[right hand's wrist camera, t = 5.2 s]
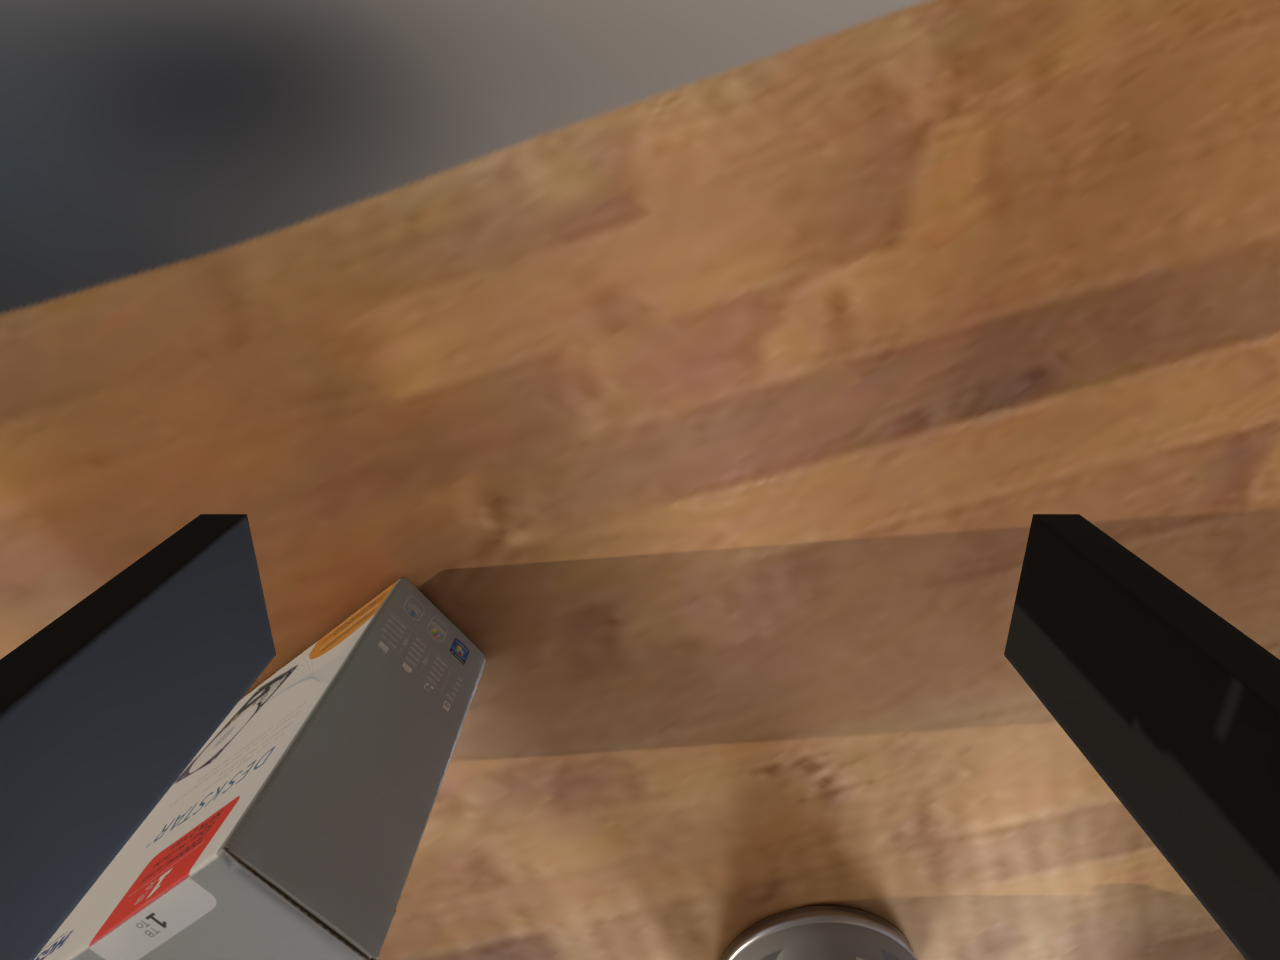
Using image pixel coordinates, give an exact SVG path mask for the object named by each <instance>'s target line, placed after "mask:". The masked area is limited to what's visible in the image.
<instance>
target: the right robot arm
mask: <svg viewBox="0 0 1280 960" xmlns="http://www.w3.org/2000/svg"><path fill="white" fill-rule="evenodd" d="M275 655H276V653H275V648H274V643H273V639H272V634H271V629H270V624H269V619H268V614H267V610H266V605H265V600H264V595H263V590H262V585H261V581H260V576H259V571H258V566H257V561H256V556H255V552H254V547H253V542H252V537H251V532H250V527H249V523H248V518H247V514H201V515H199V516H198V517H197V518H195V519H194V520H193V521H191V522H190V523H188V524H187V525H186V526H184V527H183V528H182V529H180V530H179V531H177V532H176V533H175V534H173V535H172V536H170V537H169V538H168V539H166V540H165V541H164V542H162V543H161V544H159V545H158V546H157V547H155V548H154V549H153V550H151V551H150V552H148V553H147V554H146V555H144V556H143V557H142V558H140V559H139V560H137V561H136V562H135V563H133V564H132V565H130V566H129V567H128V568H126V569H125V570H124V571H122V572H121V573H119V574H118V575H117V576H115V577H114V578H113V579H111V580H110V581H108V582H107V583H106V584H104V585H103V586H102V587H100V588H99V589H97V590H96V591H95V592H93V593H92V594H90V595H89V596H88V597H86V598H85V599H84V600H82V601H81V602H79V603H78V604H77V605H75V606H74V607H73V608H71V609H70V610H68V611H67V612H66V613H64V614H63V615H62V616H60V617H59V618H57V619H56V620H55V621H53V622H52V623H51V624H49V625H48V626H46V627H45V628H44V629H42V630H41V631H39V632H38V633H37V634H35V635H34V636H33V637H31V638H30V639H28V640H27V641H26V642H24V643H23V644H22V645H20V646H19V647H17V648H16V649H15V650H13V651H12V652H11V653H9V654H8V655H6V656H5V657H4V658H2V659H1V660H0V960H34V959H35V958H36V956H37V955H38V954H39V952H40V951H41V950H42V949H43V947H44V946H45V945H46V944H47V942H48V941H49V940H50V939H51V937H52V936H53V935H54V934H55V932H56V931H57V930H58V929H59V927H60V926H61V925H62V924H63V922H64V921H65V920H66V918H67V917H68V916H69V915H70V913H71V912H72V911H73V910H74V908H75V907H76V906H77V905H78V903H79V902H80V901H81V900H82V898H83V897H84V896H85V895H86V893H87V892H88V891H89V890H90V888H91V887H92V886H93V884H94V883H95V882H96V881H97V879H98V878H99V877H100V876H101V874H102V873H103V872H104V871H105V869H106V868H107V867H108V866H109V864H110V863H111V862H112V861H113V859H114V858H115V857H116V855H117V854H118V853H119V852H120V850H121V849H122V848H123V847H124V845H125V844H126V843H127V842H128V840H129V839H130V838H131V837H132V835H133V834H134V833H135V832H136V830H137V829H138V828H139V827H140V825H141V824H142V823H143V821H144V820H145V819H146V818H147V816H148V815H149V814H150V813H151V811H152V810H153V809H154V808H155V806H156V805H157V804H158V803H159V801H160V800H161V799H162V798H163V796H164V795H165V794H166V792H167V791H168V790H169V789H170V787H171V786H172V785H173V784H174V782H175V781H176V780H177V779H178V777H179V776H180V775H181V774H182V772H183V771H184V770H185V769H186V767H187V766H188V765H189V764H190V762H191V761H192V760H193V758H194V757H195V756H196V755H197V753H198V752H199V751H200V750H201V748H202V747H203V746H204V745H205V743H206V742H207V741H208V740H209V738H210V737H211V736H212V735H213V733H214V732H215V731H216V730H217V728H218V727H219V726H220V724H221V723H222V722H223V721H224V719H225V718H226V717H227V716H228V714H229V713H230V712H231V711H232V709H233V708H234V707H235V706H236V704H237V703H238V702H239V701H240V699H241V698H242V697H243V695H244V694H245V693H246V692H247V690H248V689H249V688H250V687H251V685H252V684H253V683H254V682H255V680H256V679H257V678H258V677H259V675H260V674H261V673H262V672H263V670H264V669H265V668H266V667H267V665H268V664H269V663H270V661H271V660H272V659H273V658H274V656H275ZM1004 655H1005V656H1006V658H1007V659H1008V660H1009V661H1010V663H1011V664H1012V665H1013V667H1014V668H1015V669H1016V670H1017V672H1018V673H1019V674H1020V675H1021V677H1022V678H1023V679H1024V680H1025V682H1026V683H1027V684H1028V685H1029V687H1030V688H1031V689H1032V690H1033V692H1034V693H1035V694H1036V695H1037V697H1038V698H1039V699H1040V701H1041V702H1042V703H1043V704H1044V706H1045V707H1046V708H1047V709H1048V711H1049V712H1050V713H1051V714H1052V716H1053V717H1054V718H1055V719H1056V721H1057V722H1058V723H1059V724H1060V726H1061V727H1062V728H1063V730H1064V731H1065V732H1066V733H1067V735H1068V736H1069V737H1070V738H1071V740H1072V741H1073V742H1074V743H1075V745H1076V746H1077V747H1078V748H1079V750H1080V751H1081V752H1082V753H1083V755H1084V756H1085V757H1086V758H1087V760H1088V761H1089V762H1090V764H1091V765H1092V766H1093V767H1094V769H1095V770H1096V771H1097V772H1098V774H1099V775H1100V776H1101V777H1102V779H1103V780H1104V781H1105V782H1106V784H1107V785H1108V786H1109V787H1110V789H1111V790H1112V791H1113V792H1114V794H1115V795H1116V796H1117V798H1118V799H1119V800H1120V801H1121V803H1122V804H1123V805H1124V806H1125V808H1126V809H1127V810H1128V811H1129V813H1130V814H1131V815H1132V816H1133V818H1134V819H1135V820H1136V821H1137V823H1138V824H1139V825H1140V827H1141V828H1142V829H1143V830H1144V832H1145V833H1146V834H1147V835H1148V837H1149V838H1150V839H1151V840H1152V842H1153V843H1154V844H1155V845H1156V847H1157V848H1158V849H1159V850H1160V852H1161V853H1162V854H1163V855H1164V857H1165V858H1166V859H1167V861H1168V862H1169V863H1170V864H1171V866H1172V867H1173V868H1174V869H1175V871H1176V872H1177V873H1178V874H1179V876H1180V877H1181V878H1182V879H1183V881H1184V882H1185V883H1186V884H1187V886H1188V887H1189V888H1190V890H1191V891H1192V892H1193V893H1194V895H1195V896H1196V897H1197V898H1198V900H1199V901H1200V902H1201V903H1202V905H1203V906H1204V907H1205V908H1206V910H1207V911H1208V912H1209V913H1210V915H1211V916H1212V917H1213V918H1214V920H1215V921H1216V922H1217V924H1218V925H1219V926H1220V927H1221V929H1222V930H1223V931H1224V932H1225V934H1226V935H1227V936H1228V937H1229V939H1230V940H1231V941H1232V942H1233V944H1234V945H1235V946H1236V947H1237V949H1238V950H1239V951H1240V952H1241V954H1242V955H1243V956H1244V958H1245V959H1246V960H1280V660H1279V659H1278V658H1276V657H1275V656H1274V655H1272V654H1271V653H1269V652H1268V651H1267V650H1265V649H1264V648H1263V647H1261V646H1260V645H1258V644H1257V643H1256V642H1254V641H1253V640H1252V639H1250V638H1249V637H1247V636H1246V635H1245V634H1243V633H1242V632H1241V631H1239V630H1238V629H1236V628H1235V627H1234V626H1232V625H1231V624H1229V623H1228V622H1227V621H1225V620H1224V619H1223V618H1221V617H1220V616H1218V615H1217V614H1216V613H1214V612H1213V611H1212V610H1210V609H1209V608H1207V607H1206V606H1205V605H1203V604H1202V603H1201V602H1199V601H1198V600H1196V599H1195V598H1194V597H1192V596H1191V595H1190V594H1188V593H1187V592H1185V591H1184V590H1183V589H1181V588H1180V587H1178V586H1177V585H1176V584H1174V583H1173V582H1172V581H1170V580H1169V579H1167V578H1166V577H1165V576H1163V575H1162V574H1161V573H1159V572H1158V571H1156V570H1155V569H1154V568H1152V567H1151V566H1150V565H1148V564H1147V563H1145V562H1144V561H1143V560H1141V559H1140V558H1138V557H1137V556H1136V555H1134V554H1133V553H1132V552H1130V551H1129V550H1127V549H1126V548H1125V547H1123V546H1122V545H1121V544H1119V543H1118V542H1116V541H1115V540H1114V539H1112V538H1111V537H1110V536H1108V535H1107V534H1105V533H1104V532H1103V531H1101V530H1100V529H1098V528H1097V527H1096V526H1094V525H1093V524H1092V523H1090V522H1089V521H1087V520H1086V519H1085V518H1083V517H1082V516H1081V515H1079V514H1033V518H1032V523H1031V527H1030V532H1029V537H1028V542H1027V547H1026V552H1025V556H1024V561H1023V566H1022V571H1021V576H1020V581H1019V585H1018V590H1017V595H1016V600H1015V605H1014V610H1013V614H1012V619H1011V624H1010V629H1009V634H1008V639H1007V643H1006V648H1005V653H1004ZM720 960H917V959H916V956H915V953H914V951H913V949H912V947H911V945H910V943H909V942H908V940H907V939H906V938H905V937H904V935H903V934H902V933H901V932H900V931H899V930H898V929H897V928H895V927H894V926H893V925H891V924H890V923H888V922H887V921H885V920H883V919H882V918H879V917H877V916H875V915H873V914H870V913H867V912H865V911H861V910H857V909H853V908H847V907H840V906H810V907H802V908H796V909H792V910H788V911H784V912H781V913H778V914H775V915H772V916H770V917H767V918H765V919H763V920H761V921H759V922H757V923H755V924H754V925H752V926H751V927H749V928H748V929H746V930H745V931H744V932H742V933H741V934H740V935H739V936H738V937H737V938H735V939H734V941H733V942H732V943H731V944H730V945H729V946H728V948H727V949H726V950H725V952H724V954H723V955H722V957H721V959H720Z"/></svg>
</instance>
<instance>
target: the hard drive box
mask: <svg viewBox="0 0 1280 960" xmlns="http://www.w3.org/2000/svg"><path fill="white" fill-rule="evenodd" d="M485 663H486V660H485V655H484V654H483V653H482V652H481V651H480V650H479V649H478V648H477V647H476V646H475V645H474V644H473V643H472V642H471V641H470V640H469V639H468V638H467V637H466V636H465V635H464V634H463V633H462V632H461V631H460V630H459V629H458V628H457V627H456V626H455V625H454V624H453V623H452V622H451V621H450V620H449V619H448V618H447V617H446V616H445V615H444V614H442V613H441V612H440V611H439V610H438V609H437V608H436V607H435V606H434V605H433V604H432V603H431V602H430V601H429V600H428V599H427V598H426V597H425V596H424V595H423V594H422V593H421V592H420V591H419V590H418V589H417V588H416V587H415V586H414V585H413V584H412V583H411V582H410V581H408V580H407V579H406V578H400V579H399V580H397V581H396V582H395V583H393V584H392V585H391V586H389V587H388V588H387V589H385V590H384V591H383V592H381V593H380V594H379V595H377V596H376V597H375V598H374V599H372V600H371V601H369V602H368V603H366V604H365V605H364V606H363V607H361V608H360V609H359V610H357V611H356V612H355V613H354V614H352V615H351V616H350V617H348V618H347V619H346V620H345V621H343V622H342V623H341V624H340V625H338V626H337V627H336V628H334V629H333V630H331V631H330V632H329V633H328V634H326V635H325V636H324V637H322V638H321V639H320V640H319V641H317V642H316V643H315V644H313V645H312V646H311V647H309V648H308V649H306V650H305V651H304V652H303V653H301V654H300V655H299V656H297V657H296V658H295V659H293V660H292V661H291V662H289V663H288V664H287V665H286V666H284V667H283V668H281V669H279V670H278V671H277V672H276V673H275V674H274V675H272V676H271V677H270V678H268V679H267V680H266V681H264V682H263V683H262V684H260V685H259V686H258V687H257V688H255V689H254V690H253V691H252V692H250V693H249V694H248V695H246V696H245V697H244V698H243V699H241V700H240V701H239V702H238V703H237V704H236V706H235V707H234V708H233V709H232V711H231V712H230V713H229V714H228V716H227V717H226V718H225V719H224V721H223V722H222V723H221V724H220V726H219V727H218V728H217V730H216V731H215V732H214V733H213V735H212V736H211V737H210V738H209V740H208V741H207V742H206V743H205V745H204V746H203V747H202V748H201V750H200V751H199V752H198V753H197V755H196V756H195V757H194V758H193V760H192V761H191V762H190V764H189V765H188V766H187V767H186V769H185V770H184V771H183V772H182V774H181V775H180V776H179V777H178V779H177V780H176V781H175V782H174V784H173V785H172V786H171V787H170V789H169V790H168V791H167V792H166V794H165V795H164V796H163V798H162V799H161V800H160V801H159V803H158V804H157V805H156V806H155V808H154V809H153V810H152V811H151V813H150V814H149V815H148V816H147V818H146V819H145V820H144V821H143V823H142V824H141V825H140V827H139V828H138V829H137V830H136V832H135V833H134V834H133V835H132V837H131V838H130V839H129V840H128V842H127V843H126V844H125V845H124V847H123V848H122V849H121V850H120V852H119V853H118V854H117V855H116V857H115V858H114V859H113V861H112V862H111V863H110V864H109V866H108V867H107V868H106V869H105V871H104V872H103V873H102V874H101V876H100V877H99V878H98V879H97V881H96V882H95V883H94V884H93V886H92V887H91V888H90V890H89V891H88V892H87V893H86V895H85V896H84V897H83V898H82V900H81V901H80V902H79V903H78V905H77V906H76V907H75V908H74V910H73V911H72V912H71V913H70V915H69V916H68V917H67V918H66V920H65V921H64V922H63V924H62V925H61V926H60V927H59V929H58V930H57V931H56V932H55V934H54V935H53V936H52V937H51V939H50V940H49V941H48V942H47V944H46V945H45V946H44V947H43V949H42V950H41V951H40V952H39V954H38V955H37V956H36V958H35V959H34V960H377V958H378V956H379V953H380V950H381V948H382V945H383V942H384V940H385V937H386V935H387V932H388V929H389V927H390V924H391V921H392V918H393V916H394V914H395V912H396V907H397V904H398V901H399V899H400V897H401V893H402V890H403V887H404V885H405V882H406V879H407V876H408V874H409V871H410V868H411V865H412V863H413V860H414V857H415V854H416V852H417V849H418V846H419V843H420V840H421V838H422V835H423V832H424V829H425V827H426V824H427V821H428V819H429V816H430V813H431V811H432V808H433V805H434V802H435V800H436V797H437V794H438V792H439V789H440V786H441V784H442V781H443V778H444V775H445V773H446V770H447V767H448V764H449V762H450V759H451V756H452V753H453V751H454V748H455V745H456V743H457V740H458V737H459V734H460V732H461V729H462V726H463V724H464V721H465V718H466V715H467V713H468V710H469V707H470V705H471V702H472V699H473V696H474V694H475V691H476V688H477V686H478V683H479V680H480V677H481V675H482V672H483V669H484V666H485Z"/></svg>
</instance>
